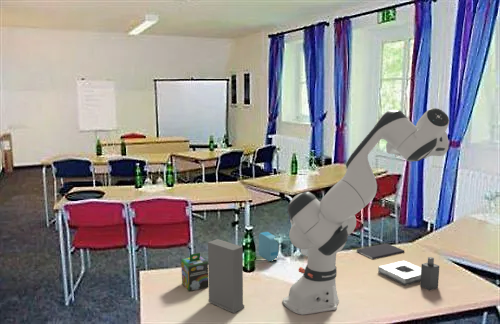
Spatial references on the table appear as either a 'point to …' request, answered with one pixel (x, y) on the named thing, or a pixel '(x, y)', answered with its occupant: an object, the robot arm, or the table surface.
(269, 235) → the data package
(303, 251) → the white angled block
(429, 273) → the plug
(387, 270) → the socket
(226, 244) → the tall grey upright box
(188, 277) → the chalk box
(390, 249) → the notebook
